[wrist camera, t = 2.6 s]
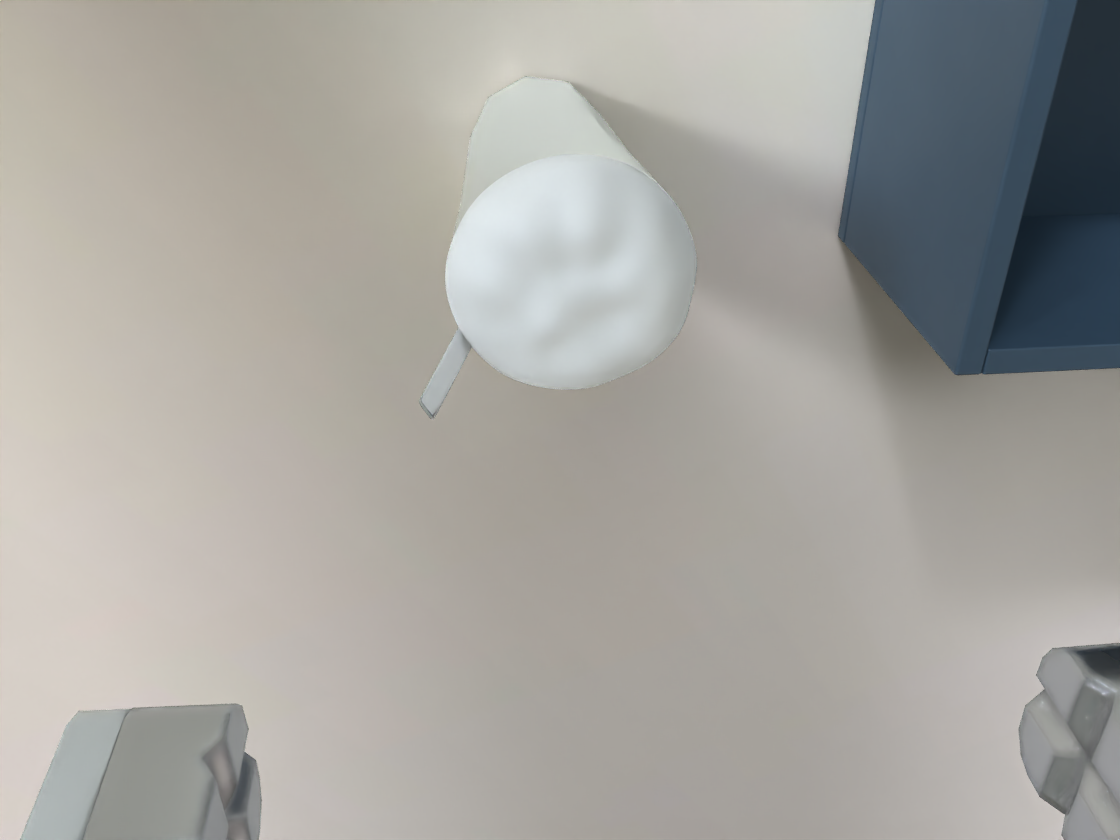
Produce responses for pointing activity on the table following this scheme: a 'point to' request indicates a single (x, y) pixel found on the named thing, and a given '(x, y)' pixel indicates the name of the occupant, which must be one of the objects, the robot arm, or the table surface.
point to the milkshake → (560, 248)
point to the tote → (993, 179)
